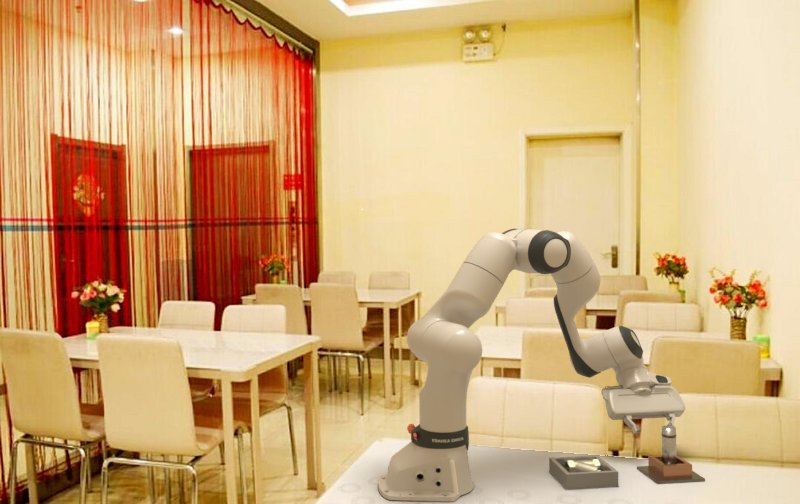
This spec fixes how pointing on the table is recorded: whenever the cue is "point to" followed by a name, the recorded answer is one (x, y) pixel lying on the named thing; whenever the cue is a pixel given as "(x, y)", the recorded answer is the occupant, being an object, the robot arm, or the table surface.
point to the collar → (669, 471)
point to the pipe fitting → (582, 465)
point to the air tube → (669, 445)
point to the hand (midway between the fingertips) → (654, 432)
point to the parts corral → (583, 474)
